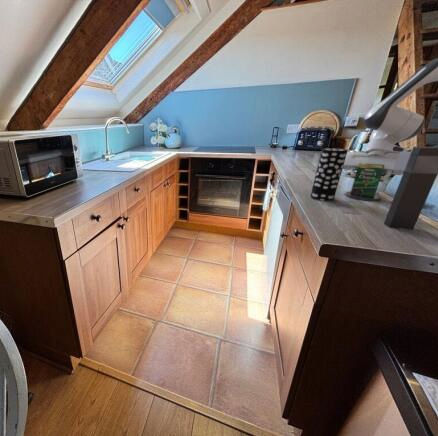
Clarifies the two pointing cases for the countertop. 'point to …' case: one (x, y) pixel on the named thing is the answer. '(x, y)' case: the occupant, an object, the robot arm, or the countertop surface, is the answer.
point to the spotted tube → (328, 174)
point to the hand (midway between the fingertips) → (366, 179)
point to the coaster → (361, 197)
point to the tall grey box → (412, 186)
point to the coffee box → (367, 179)
